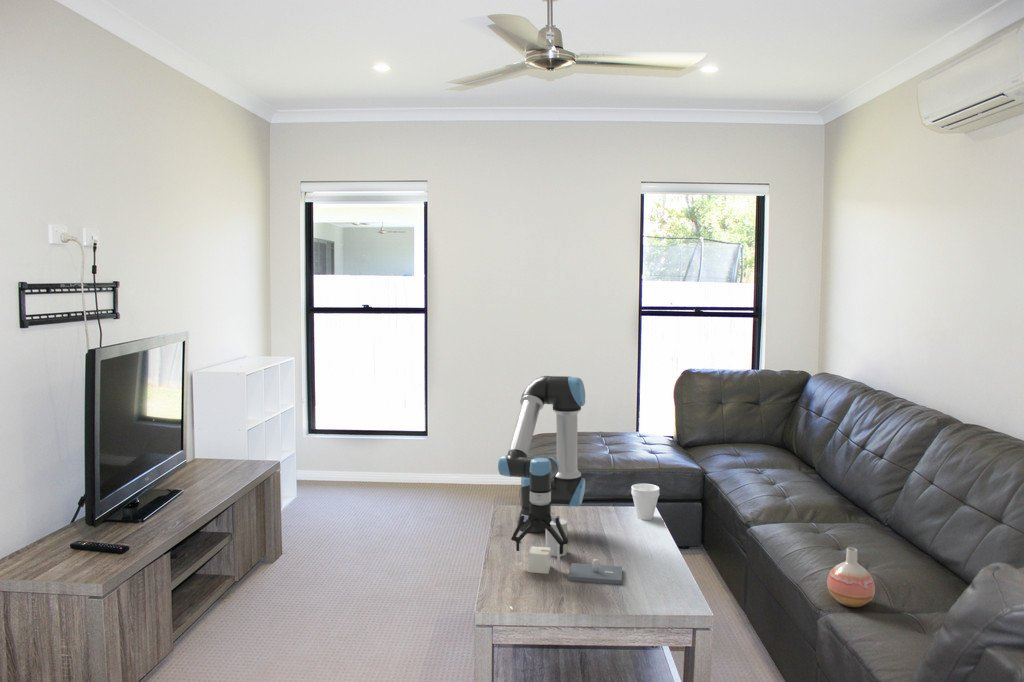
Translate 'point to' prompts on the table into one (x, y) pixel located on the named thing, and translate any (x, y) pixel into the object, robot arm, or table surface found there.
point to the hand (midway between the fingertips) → (539, 561)
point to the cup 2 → (645, 500)
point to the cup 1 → (551, 541)
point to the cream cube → (539, 559)
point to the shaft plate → (595, 573)
